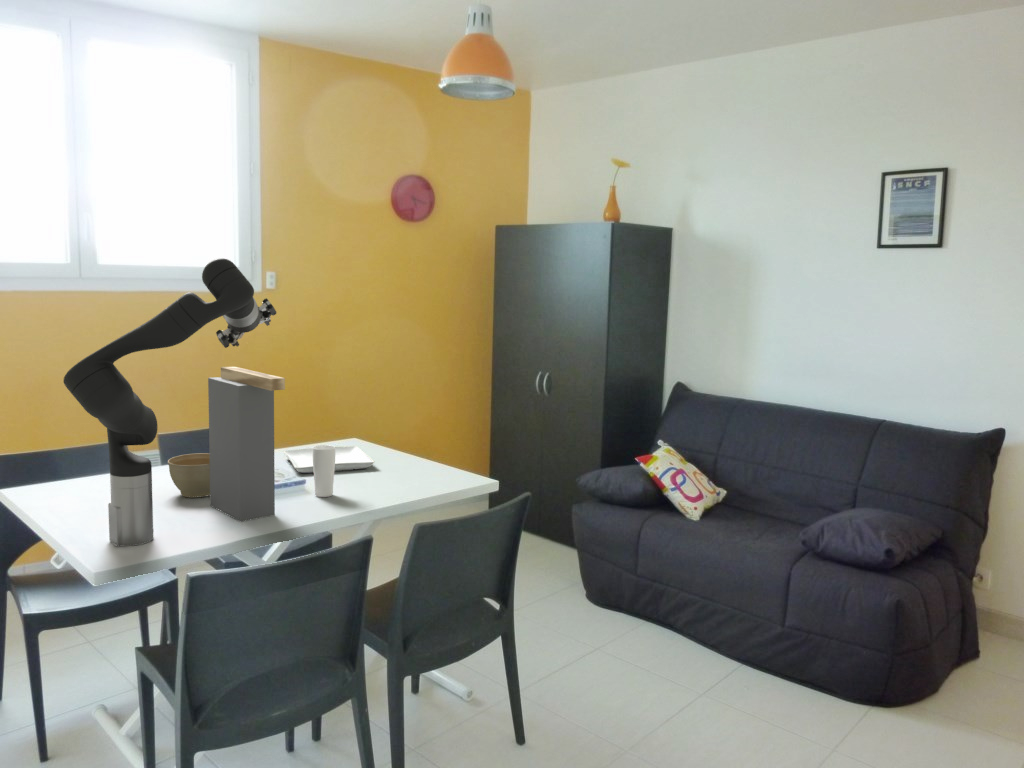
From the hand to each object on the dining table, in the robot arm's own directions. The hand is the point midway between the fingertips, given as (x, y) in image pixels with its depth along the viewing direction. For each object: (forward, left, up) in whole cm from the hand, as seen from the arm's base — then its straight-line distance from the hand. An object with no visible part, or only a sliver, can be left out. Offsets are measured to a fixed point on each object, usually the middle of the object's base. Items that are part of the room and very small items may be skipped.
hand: (251, 332), depth 189 cm
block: (+11, +23, -16) cm, 29 cm away
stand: (+11, +29, -53) cm, 61 cm away
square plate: (+59, +64, -53) cm, 102 cm away
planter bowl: (+8, +53, -53) cm, 75 cm away
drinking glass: (+37, +29, -53) cm, 71 cm away
